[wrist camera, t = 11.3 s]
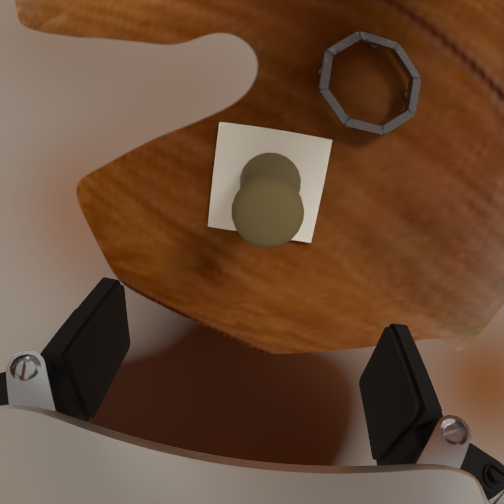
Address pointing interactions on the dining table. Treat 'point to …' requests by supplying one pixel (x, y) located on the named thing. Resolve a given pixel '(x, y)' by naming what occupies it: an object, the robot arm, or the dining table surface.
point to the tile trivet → (258, 142)
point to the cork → (268, 201)
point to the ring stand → (408, 95)
